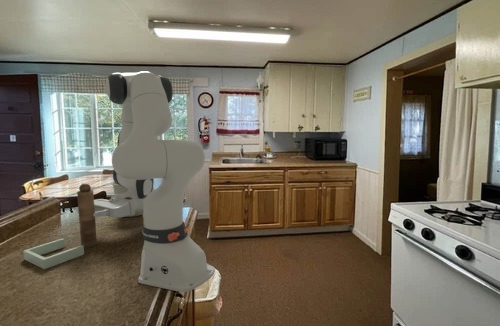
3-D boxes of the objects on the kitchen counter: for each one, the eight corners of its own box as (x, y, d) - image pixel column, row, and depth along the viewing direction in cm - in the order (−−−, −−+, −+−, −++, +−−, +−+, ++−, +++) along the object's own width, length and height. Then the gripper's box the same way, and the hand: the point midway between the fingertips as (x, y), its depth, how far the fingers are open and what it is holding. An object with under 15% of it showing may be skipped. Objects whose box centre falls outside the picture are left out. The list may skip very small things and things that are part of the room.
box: (84, 254, 96) (83, 245, 96) (44, 269, 86) (43, 259, 85) (63, 246, 102) (62, 238, 102) (24, 259, 92) (23, 250, 92)
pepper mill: (99, 243, 105) (95, 182, 102) (86, 248, 101) (81, 185, 98) (91, 240, 107) (87, 181, 105) (78, 245, 103) (73, 183, 100)
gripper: (104, 193, 119) (69, 201, 107) (136, 199, 109) (102, 208, 97) (105, 208, 120) (70, 217, 108) (137, 215, 109) (103, 226, 98)
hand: (86, 213), depth 102 cm, fingers open, 8 cm apart
